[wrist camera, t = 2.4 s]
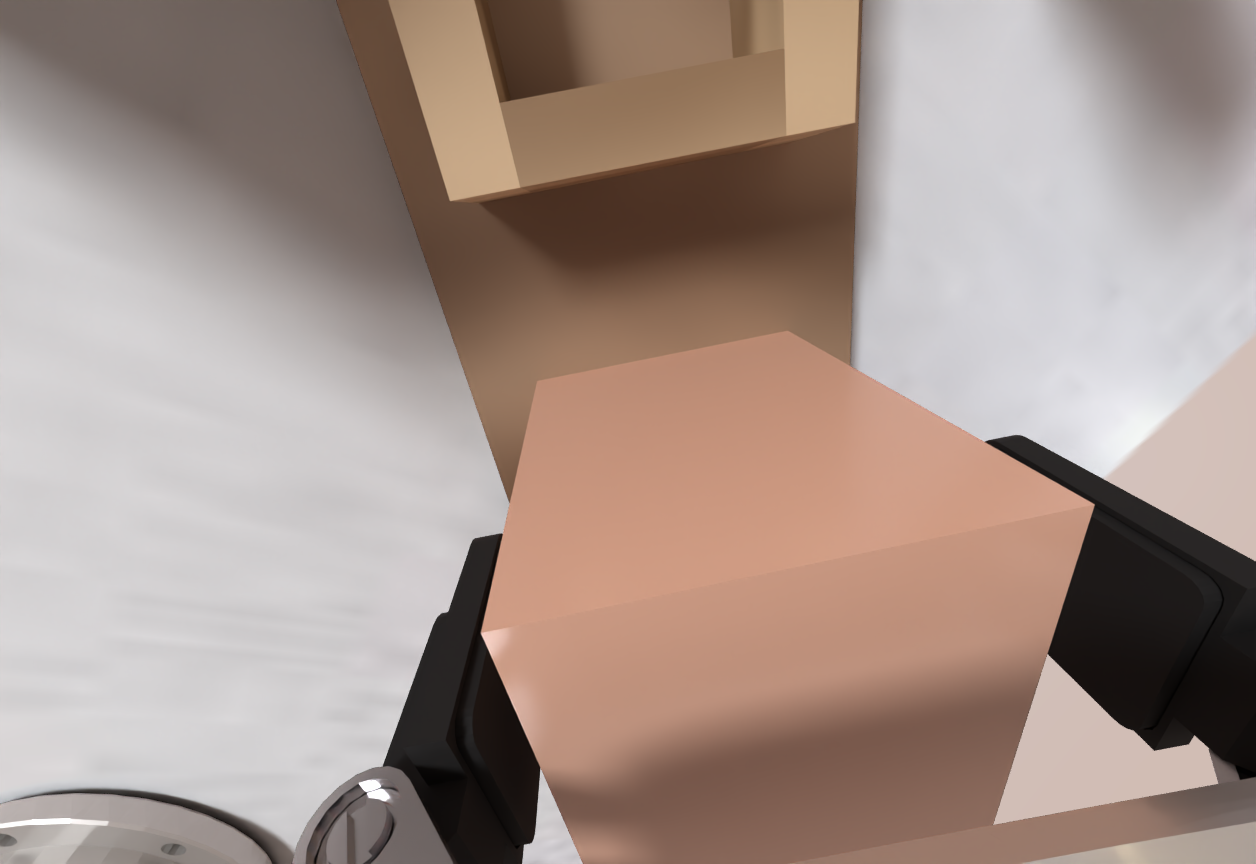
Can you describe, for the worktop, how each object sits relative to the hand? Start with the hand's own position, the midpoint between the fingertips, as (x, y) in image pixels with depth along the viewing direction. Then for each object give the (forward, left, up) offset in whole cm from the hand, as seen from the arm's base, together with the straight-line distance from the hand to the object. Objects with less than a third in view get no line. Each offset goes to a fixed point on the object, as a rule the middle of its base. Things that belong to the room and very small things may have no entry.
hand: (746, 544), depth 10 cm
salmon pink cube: (0, +1, -4) cm, 4 cm away
